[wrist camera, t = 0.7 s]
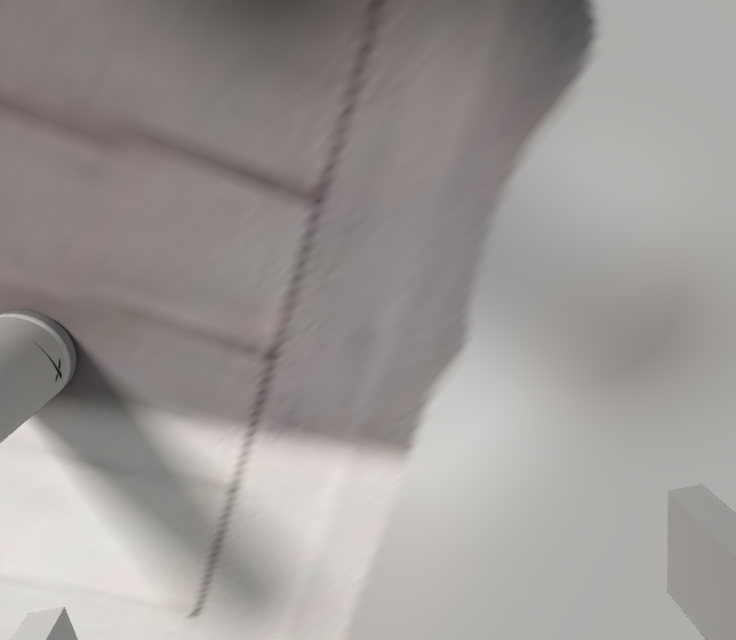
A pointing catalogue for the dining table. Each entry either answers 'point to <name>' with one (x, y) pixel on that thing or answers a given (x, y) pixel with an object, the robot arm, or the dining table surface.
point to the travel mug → (31, 365)
